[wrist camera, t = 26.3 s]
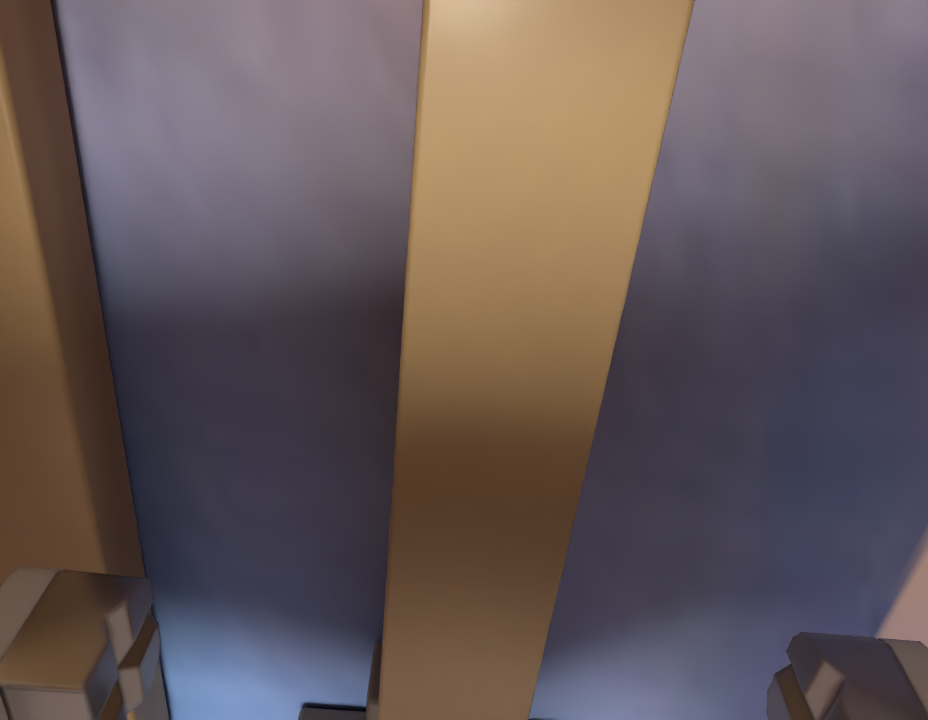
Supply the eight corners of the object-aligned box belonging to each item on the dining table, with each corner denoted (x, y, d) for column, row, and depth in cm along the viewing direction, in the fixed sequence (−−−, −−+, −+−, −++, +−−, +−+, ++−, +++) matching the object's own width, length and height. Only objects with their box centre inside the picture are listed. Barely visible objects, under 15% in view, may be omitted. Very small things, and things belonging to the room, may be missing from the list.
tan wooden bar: (279, -249, 7) (149, -346, 4) (819, -185, 7) (1032, -235, 4) (303, 833, 16) (269, 1019, 14) (533, 848, 17) (543, 1035, 14)
